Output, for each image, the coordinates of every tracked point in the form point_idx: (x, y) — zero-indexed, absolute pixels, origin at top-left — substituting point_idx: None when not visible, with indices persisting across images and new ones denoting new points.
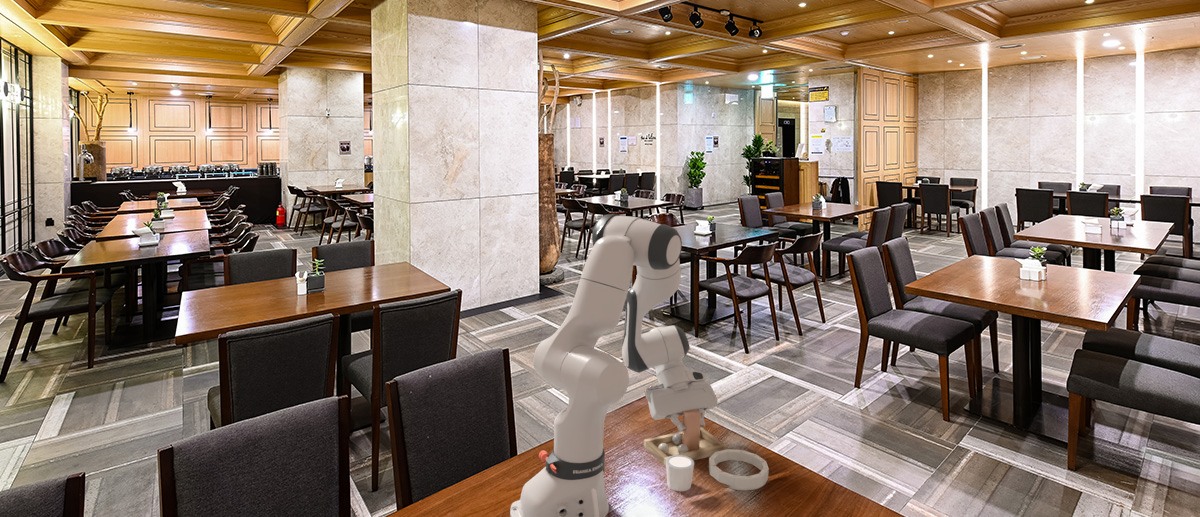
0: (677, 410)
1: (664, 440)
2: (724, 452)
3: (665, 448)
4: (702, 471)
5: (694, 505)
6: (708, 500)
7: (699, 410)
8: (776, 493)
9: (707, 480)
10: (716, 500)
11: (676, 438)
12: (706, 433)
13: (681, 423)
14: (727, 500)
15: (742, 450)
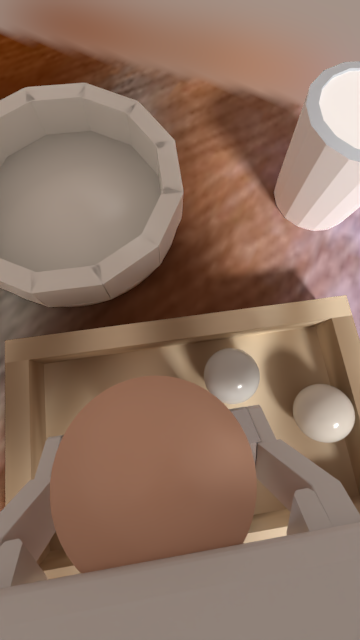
0: (332, 549)
1: (283, 518)
2: (63, 270)
3: (327, 387)
4: (189, 263)
5: (295, 111)
6: (245, 119)
7: (13, 574)
8: None
9: (199, 208)
10: (222, 113)
11: None
12: None
13: (260, 442)
14: (190, 105)
15: None
